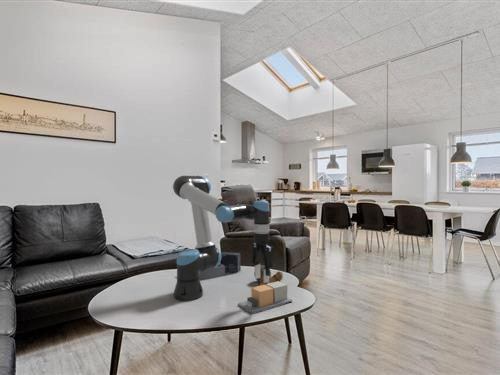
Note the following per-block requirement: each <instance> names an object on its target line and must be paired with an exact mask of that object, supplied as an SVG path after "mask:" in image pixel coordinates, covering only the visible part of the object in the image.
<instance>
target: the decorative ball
mask: <svg viewBox="0 0 500 375" xmlns="http://www.w3.org/2000/svg"><path fill="white" fill-rule="evenodd" d="M264 268H265V266H264V264H263V265H261V264H260V278H258V279H255V280H256V281H258V283H260V280H261V278H262V277H263V276H264ZM254 277H255V271H254ZM269 277H272V272H271V270H270V275H269ZM261 282H262V281H261Z"/></svg>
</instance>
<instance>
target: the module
mask: <svg viewBox="0 0 500 375" xmlns="http://www.w3.org/2000/svg"><path fill="white" fill-rule="evenodd" d="M250 292H251V295H250V297H252V298H254V299H255V300H257V301H258V306H259V307H261V306H265V305H268V304H272V303H273V288H271V287H269V286H266V285H264V284H262V285H261V286H259V285H257V286H253V287H251V291H250Z"/></svg>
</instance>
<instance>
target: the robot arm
mask: <svg viewBox="0 0 500 375" xmlns="http://www.w3.org/2000/svg"><path fill="white" fill-rule="evenodd" d="M173 181H174V182H173V184H172V190H173V193H174V194H175V195H176V196H177V197H178V198H180V199H183V200H188V202H190V204H191V210H192V211H191V212H192V219H193V225H194V231H195V232H194V233H195V239H196V246H195V247H194V248H191V249H190V248H189V249H185V250H181V251H180V252H179V253H178V254H177V255H176V284H175V288H174V291H173V299H175V300H178V301H182V302H183V301H187V302H189V301H194V300H197V299H199V298H202V297H203V296H204V290H203V286H202V284H201V280H199V273H200V272H203V271H206V270H210V269H213V268H215V267H217V266H218V265H219V264H220V262H221V253H222V252H221V251H220V249H219V248H218V247H217V246H216V243H215V242H214V241H213V239H212V232H211V224H210V219H209V213H210V214H212V215H214V216H215V218H216V219H217V221H218V222H219V223H230V222H236V221H243V220H252V221H253V232H254V233H253V240H254V242H252V243H251V247H252V248H251V249H252V250H251V251H252V252H251V253H252V254H251V263H252V264H253V265H254V272H255V276H254V279H255V280H256V279H258V278H260V266H261V257H262V260H263V265H264V266H265V268H264V283H266V284H267V283H268V282H269V275H270V271H271V269H272V268H273V267H274V266H273V265H274V264H273V246H269V241H270V204H269V203H270V202H269V201H267V200H254V201H253V204H245V203H240V204H239V203H238V204H233V205H230V204H228V203H226V202H225V201H223V200H220V199H218V198H217V197H215V196H213V195H211V194H210V192H211V190H212V189H211V188H212V187H211V186H212V185H211V183H210V181H209V179H208V178H207V177H205V176H201V175H180V176H178V177H177V178H176V179H175V180H173ZM264 283H263V284H264Z"/></svg>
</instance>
